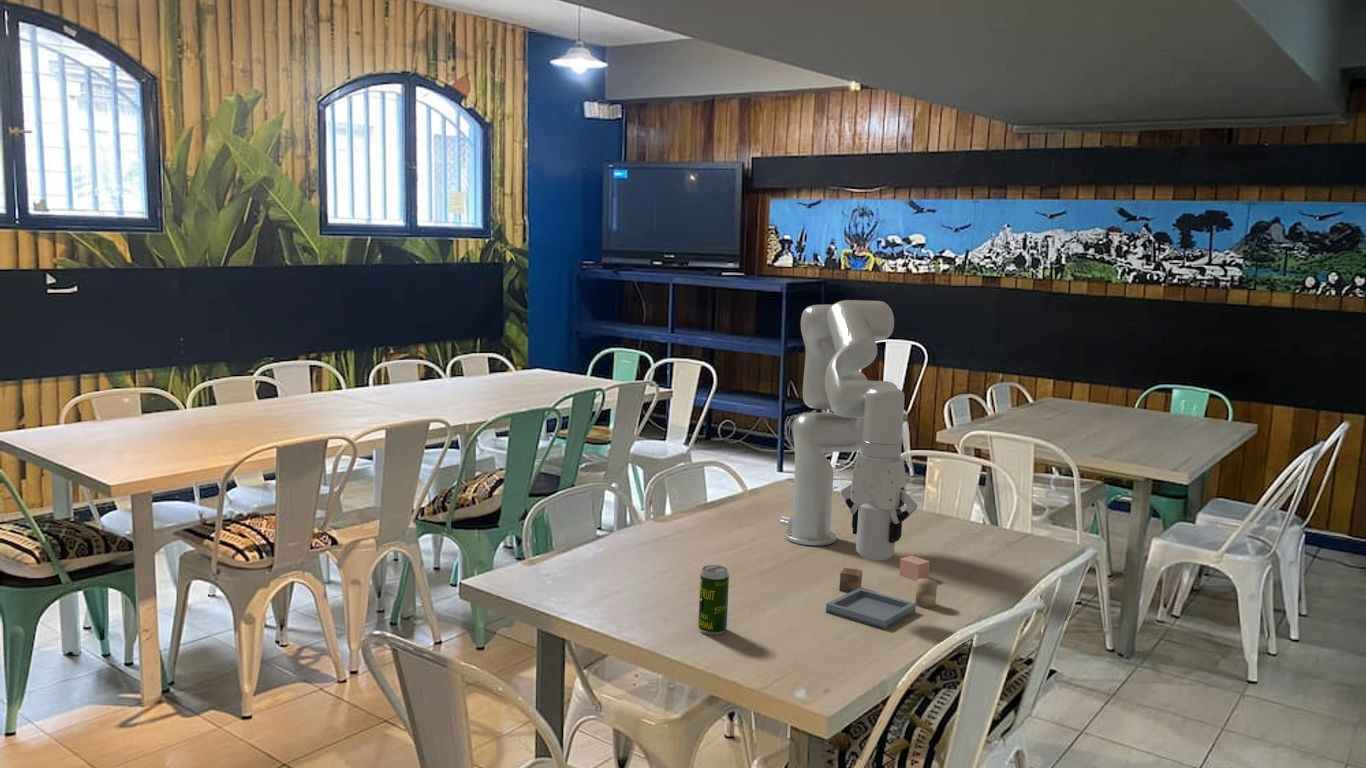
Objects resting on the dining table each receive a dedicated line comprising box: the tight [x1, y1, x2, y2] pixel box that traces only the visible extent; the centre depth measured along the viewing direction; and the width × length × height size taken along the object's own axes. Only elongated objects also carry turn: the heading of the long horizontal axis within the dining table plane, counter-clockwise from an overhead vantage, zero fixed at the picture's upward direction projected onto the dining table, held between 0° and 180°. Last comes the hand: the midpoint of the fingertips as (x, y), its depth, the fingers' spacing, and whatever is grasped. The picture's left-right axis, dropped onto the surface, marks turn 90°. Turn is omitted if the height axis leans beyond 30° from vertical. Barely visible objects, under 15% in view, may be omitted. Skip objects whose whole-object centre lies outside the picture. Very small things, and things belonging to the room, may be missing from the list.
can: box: [855, 499, 896, 561], centre depth 204 cm, size 8×8×12 cm
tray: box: [825, 587, 917, 631], centre depth 206 cm, size 13×13×2 cm
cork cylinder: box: [915, 578, 938, 609], centre depth 212 cm, size 4×4×5 cm
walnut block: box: [838, 567, 863, 593], centre depth 219 cm, size 4×4×4 cm
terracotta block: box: [898, 555, 931, 582], centre depth 229 cm, size 5×4×4 cm
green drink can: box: [697, 564, 730, 636], centre depth 193 cm, size 5×5×12 cm
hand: (875, 536), depth 204 cm, fingers closed on can, 7 cm apart
